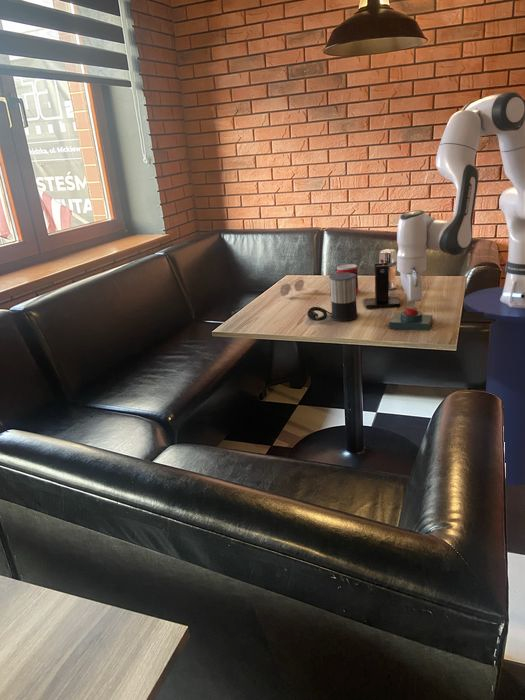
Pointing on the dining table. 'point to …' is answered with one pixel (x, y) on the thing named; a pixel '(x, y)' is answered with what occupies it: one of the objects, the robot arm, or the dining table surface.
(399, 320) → the button box
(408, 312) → the button
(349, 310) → the milk frother
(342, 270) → the canned food
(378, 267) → the bracket
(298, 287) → the sunglasses
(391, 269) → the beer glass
